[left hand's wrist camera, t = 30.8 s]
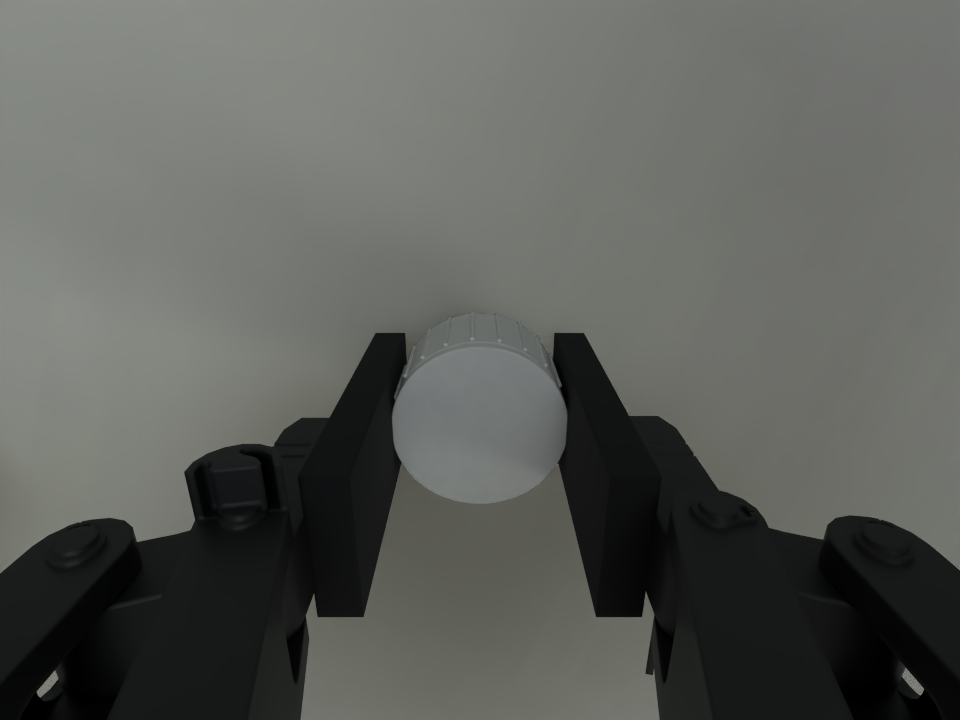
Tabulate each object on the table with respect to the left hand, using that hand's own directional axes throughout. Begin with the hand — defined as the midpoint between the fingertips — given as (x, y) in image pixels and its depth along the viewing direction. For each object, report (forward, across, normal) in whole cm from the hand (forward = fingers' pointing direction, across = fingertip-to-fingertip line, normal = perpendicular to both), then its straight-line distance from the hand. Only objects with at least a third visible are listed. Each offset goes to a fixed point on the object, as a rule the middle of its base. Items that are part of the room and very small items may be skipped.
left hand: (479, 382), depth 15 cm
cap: (-2, 0, 0) cm, 2 cm away
